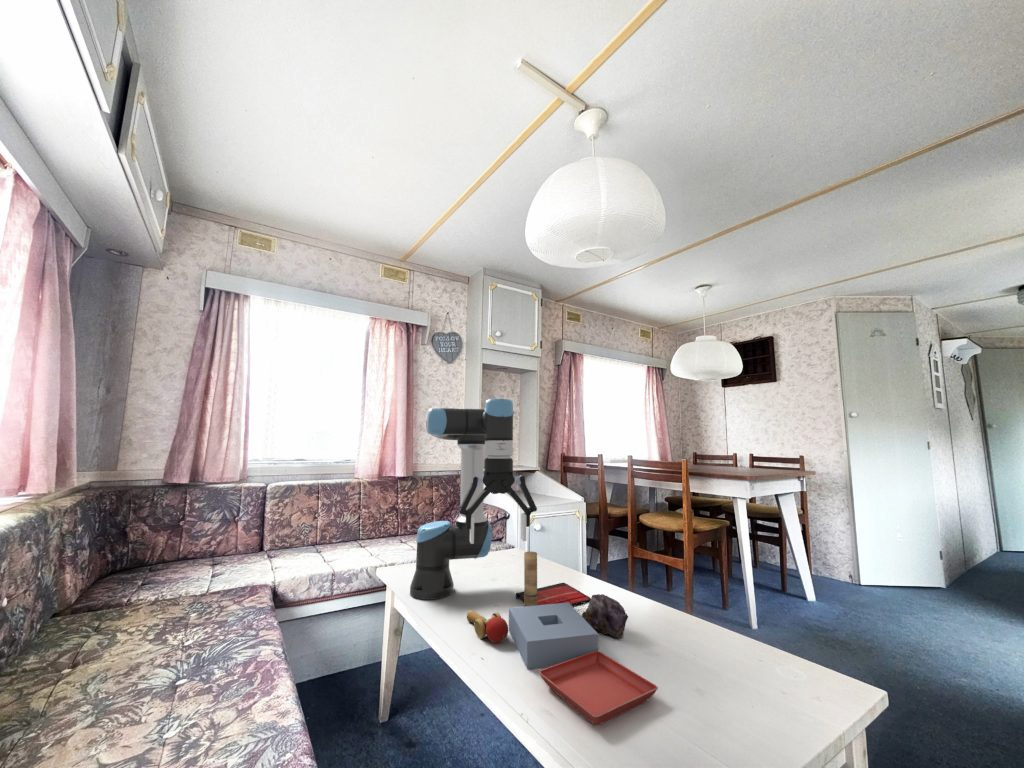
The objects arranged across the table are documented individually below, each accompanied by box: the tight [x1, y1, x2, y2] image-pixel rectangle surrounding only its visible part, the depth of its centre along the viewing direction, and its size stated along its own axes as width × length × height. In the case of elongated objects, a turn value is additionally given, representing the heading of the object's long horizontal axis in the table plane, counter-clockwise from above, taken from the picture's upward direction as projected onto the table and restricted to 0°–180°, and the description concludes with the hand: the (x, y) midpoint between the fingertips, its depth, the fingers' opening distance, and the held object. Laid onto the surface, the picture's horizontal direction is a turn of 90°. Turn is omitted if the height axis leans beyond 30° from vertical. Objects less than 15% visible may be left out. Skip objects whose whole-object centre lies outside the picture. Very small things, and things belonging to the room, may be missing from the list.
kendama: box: [466, 610, 509, 644], centre depth 113 cm, size 8×6×18 cm
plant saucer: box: [538, 650, 659, 726], centre depth 86 cm, size 18×18×3 cm
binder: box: [515, 582, 591, 606], centre depth 137 cm, size 16×2×21 cm
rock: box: [581, 593, 629, 639], centre depth 115 cm, size 12×9×10 cm
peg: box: [523, 551, 538, 607], centre depth 126 cm, size 4×4×18 cm
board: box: [508, 602, 599, 670], centre depth 107 cm, size 20×18×6 cm
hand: (498, 541), depth 104 cm, fingers open, 13 cm apart
